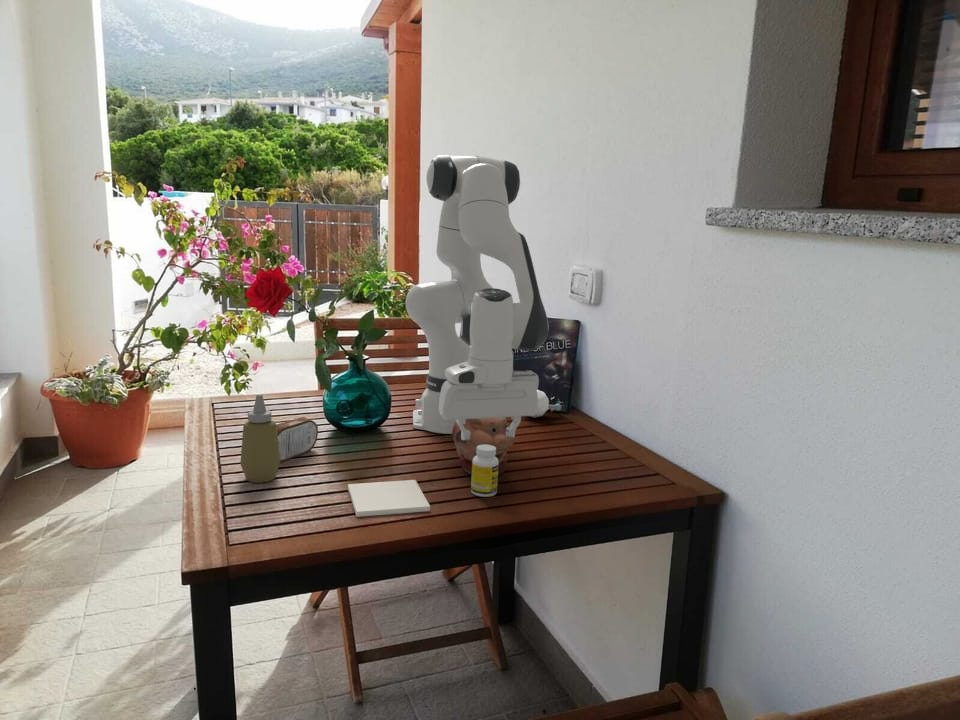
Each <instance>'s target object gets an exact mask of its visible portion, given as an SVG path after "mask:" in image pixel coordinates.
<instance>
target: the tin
mask: <svg viewBox="0 0 960 720" xmlns="http://www.w3.org/2000/svg"><path fill="white" fill-rule="evenodd" d="M276 427H277V435H278V443H279V452H280V463H281V462H285V461H288V460H291V459H294V458H296V457H299V456H302V455H306V454H307V453H309V452H311V450H313V448H314V447H315V445H316V444H317V440H318V435H319V427H318V424H317V423H316V422H315V421H314V420H312V419H309V418H307V417H305V416H302V417H298V418H295V419H291V420H287V421H284V422H281V423H278V424H277V423H276Z"/></svg>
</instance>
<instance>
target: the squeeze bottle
mask: <svg viewBox="0 0 960 720" xmlns="http://www.w3.org/2000/svg"><path fill="white" fill-rule="evenodd" d="M247 420H248V421H246V422H245V423H244V424H243V429H242V436H241V437H242V438H241V448H240V449H241V451H240V463H239V465H240V467H241V469H242V472H243V475H244V477H245V479H246V480H247V482H250V483H255V484H257V483H260V484H261V483H267V482H271V481H273V480H274V479H276V478H277V477H276V476H277V473H278V470H279V468H280V465H281V462H280V452H279V443H278V435H277V427H276V425H277V422H275V421H273V420H272V411H271V410H269V409H267V408H266V404H265V399H264V396H263V394H256V397H255V400H254V405H253V409H252V410H250V411H248V413H247Z"/></svg>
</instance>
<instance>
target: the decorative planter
mask: <svg viewBox="0 0 960 720" xmlns="http://www.w3.org/2000/svg"><path fill="white" fill-rule="evenodd" d="M507 419H508V417H497V418H477V419H466V423H465V424H463V426H464V428H465V430H469V431H470V432H471V434H470V440H462V439H461V430H460V428H459V426H458V424H457V423H456V422H455V424H454V426H453V430H452V434H451V436H452V440H453V442H454V445H455V448H456V453H457V456H458V459H459V461H460V466H461V468H462V470H463V471H464V472H466V473H468V474H470V475H472V461H473V458H474V457H475V456H476V455H477V454H476V450H477V446H479V445H492V446H495V447H496V455H495V457H496V458H497V459H498V461H499V465H498V476H499V475H501V474H503V473H505V470H506V467H507V464H508V456H507V451H508V449H509V448H511V447H512V446H513V445H514V441H515V437H513V438H507V437H506V435H505V433H506V431H505V430H506V428H507V427H510V425H509V424H508V420H507Z"/></svg>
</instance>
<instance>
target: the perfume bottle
mask: <svg viewBox="0 0 960 720" xmlns="http://www.w3.org/2000/svg"><path fill="white" fill-rule="evenodd" d="M537 394H538V412H537V413H536V414H535V415H534V416H530V417H531V418H533V419H535V418H539V417H542V416H544V414H546V412H547V411H548V410H551V411H550V412H553V411H560V410H561V409H562V405H561V404H560V403H555V404H549V403H550V400H549V398H548V396H547V395H546V393H545V392H544V391H542V390H540V389H537Z"/></svg>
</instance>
